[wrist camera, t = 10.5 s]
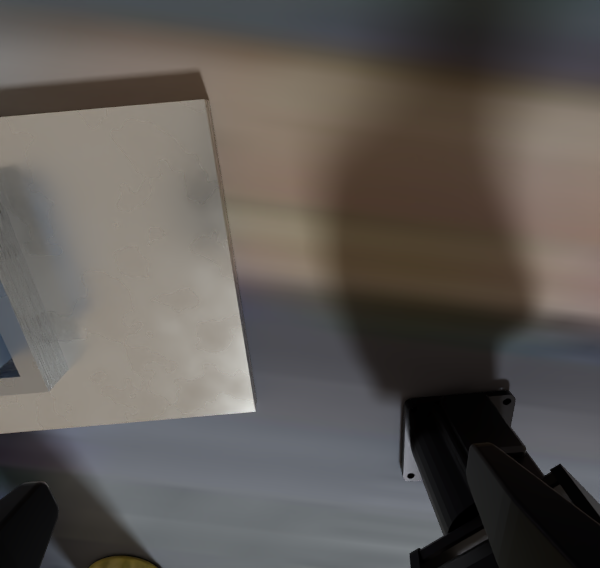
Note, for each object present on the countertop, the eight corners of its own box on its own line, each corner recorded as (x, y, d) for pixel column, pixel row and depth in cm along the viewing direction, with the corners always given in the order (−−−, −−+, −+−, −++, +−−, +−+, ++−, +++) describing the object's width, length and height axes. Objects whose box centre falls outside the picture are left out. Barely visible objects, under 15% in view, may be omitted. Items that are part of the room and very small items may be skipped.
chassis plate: (256, 399, 22) (252, 435, 20) (-79, 428, 22) (-127, 468, 20) (209, 100, 16) (194, 95, 13) (-260, 141, 16) (-366, 145, 13)
